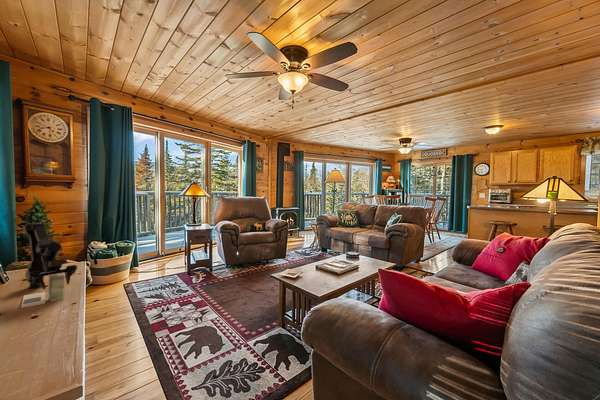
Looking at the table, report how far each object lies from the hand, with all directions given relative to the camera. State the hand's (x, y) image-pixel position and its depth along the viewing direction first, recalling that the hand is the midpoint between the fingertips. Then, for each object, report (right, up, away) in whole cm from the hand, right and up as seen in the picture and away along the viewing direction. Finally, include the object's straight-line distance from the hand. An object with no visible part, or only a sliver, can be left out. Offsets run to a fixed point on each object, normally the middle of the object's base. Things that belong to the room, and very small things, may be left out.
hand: (57, 286), depth 130 cm
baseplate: (-10, -7, -2) cm, 12 cm away
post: (-1, -7, +1) cm, 7 cm away
